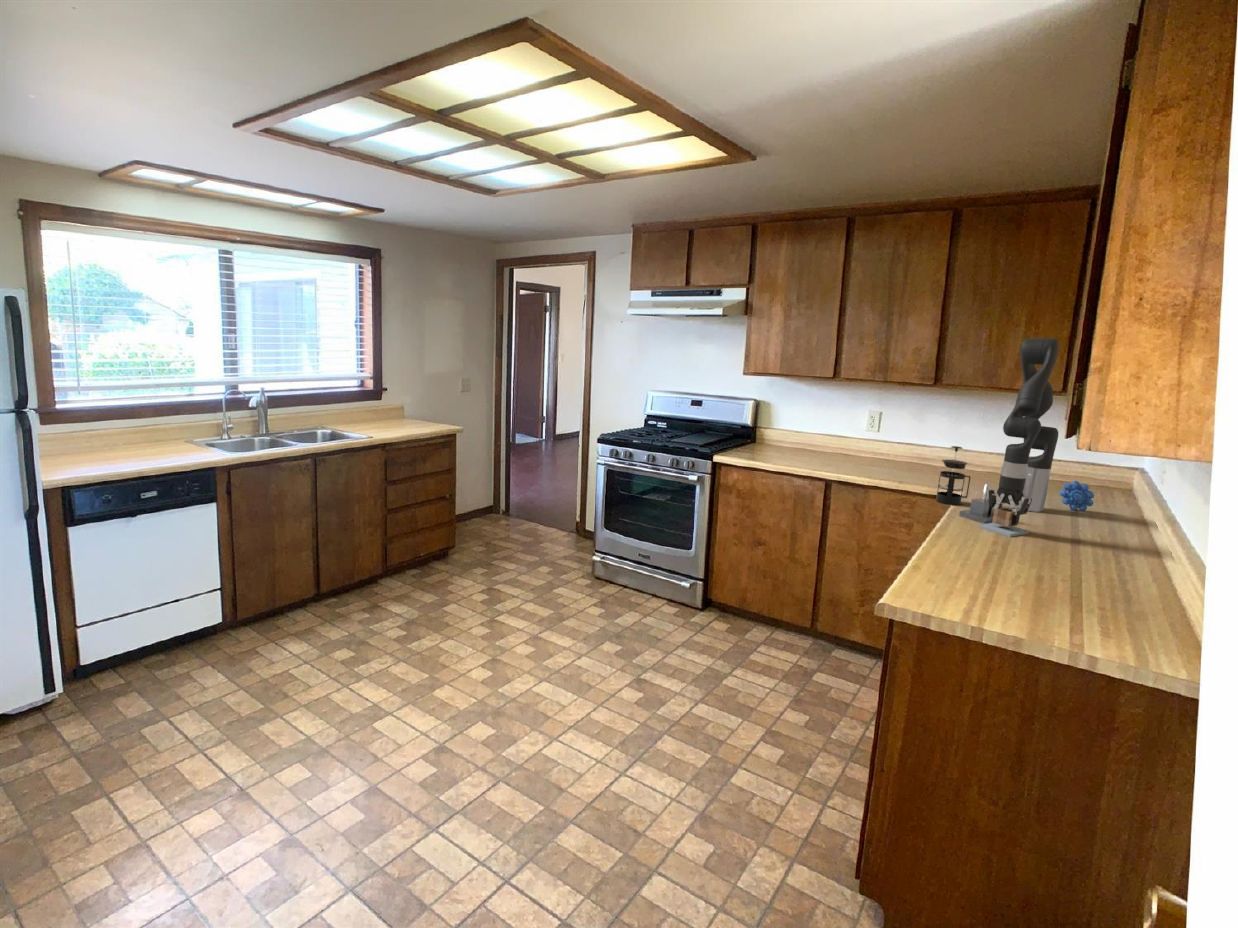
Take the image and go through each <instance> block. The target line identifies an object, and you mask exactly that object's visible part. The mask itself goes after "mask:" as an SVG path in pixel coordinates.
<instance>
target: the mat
mask: <svg viewBox="0 0 1238 928" xmlns="http://www.w3.org/2000/svg"><path fill="white" fill-rule="evenodd" d="M978 528H979V529H982V530H987V531H989V532H993V533H996V534H999V535H1002V536H1004V537H1005V536H1006V537H1008V538H1011V537H1012V538H1013V537H1016V536H1023V535H1028V534H1030V530H1027V529H1026V528H1021V527H1017V526H1011V527H1006V526H1003V525H999V524H996V523H982V524H978Z"/></svg>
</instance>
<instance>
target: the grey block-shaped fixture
mask: <svg viewBox="0 0 1238 928" xmlns="http://www.w3.org/2000/svg"><path fill="white" fill-rule="evenodd" d="M991 487H992V486H991V484H990V483H984V484H983V491H982V495H981V497H979V498H971V502H970V508H969V509H965V510H959V512H958V513H959V514H958V517H960V518H965V519H968V520H971V521H974V522H978V523H982V524H988V523H992V521H993V514H994V508H992V507H990V506H989V490H991ZM997 500H998V499H996V502H997Z"/></svg>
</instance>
